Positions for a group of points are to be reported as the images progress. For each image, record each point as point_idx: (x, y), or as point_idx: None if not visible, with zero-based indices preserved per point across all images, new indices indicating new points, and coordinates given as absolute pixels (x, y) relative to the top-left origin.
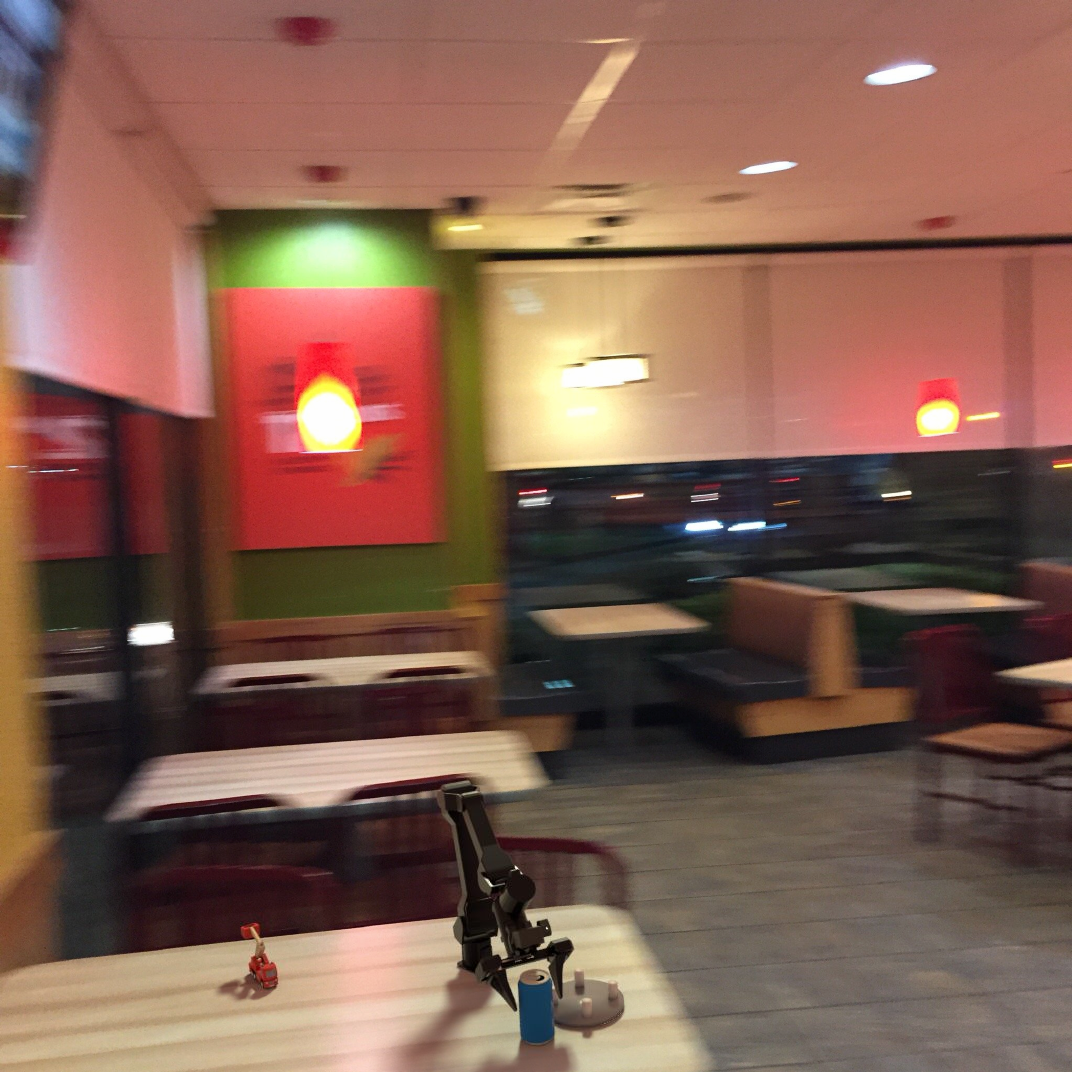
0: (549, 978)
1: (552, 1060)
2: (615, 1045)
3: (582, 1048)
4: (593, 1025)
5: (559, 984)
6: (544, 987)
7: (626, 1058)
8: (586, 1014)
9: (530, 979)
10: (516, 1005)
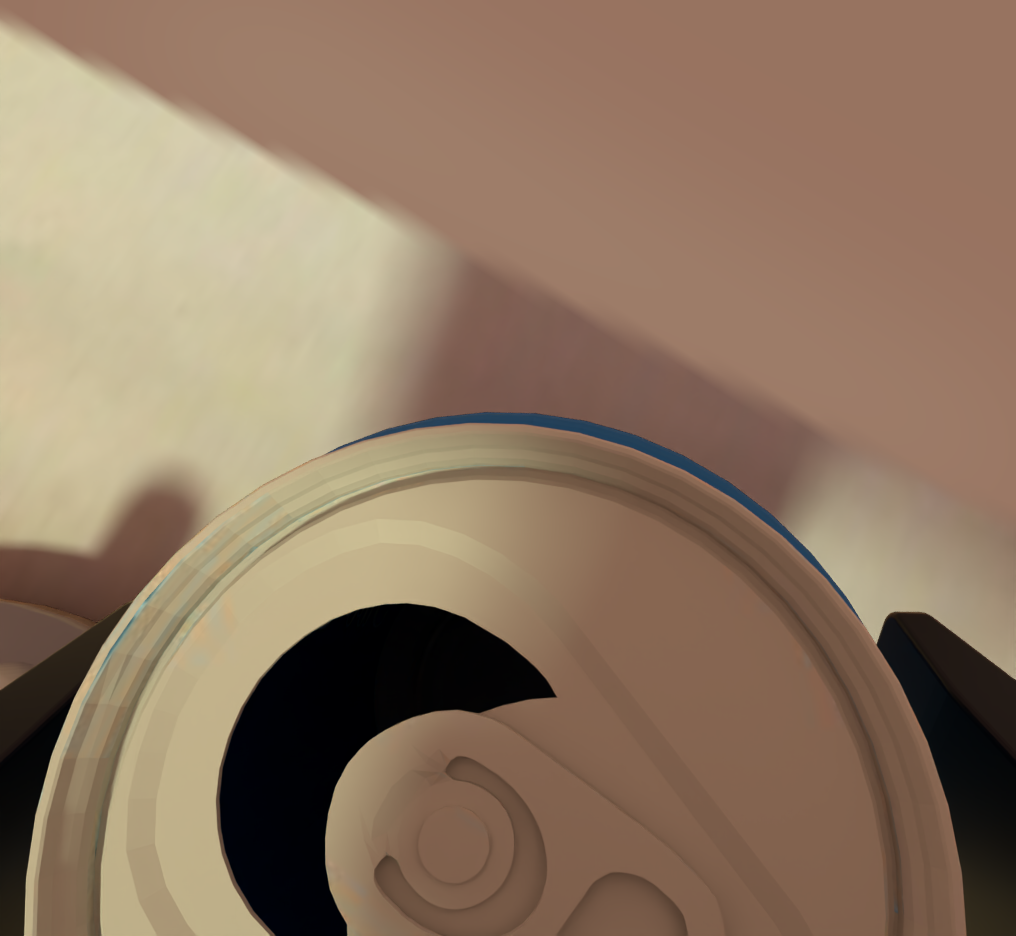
0: (145, 643)
1: (560, 341)
2: (65, 299)
3: (288, 376)
4: (44, 609)
5: (20, 716)
6: (422, 421)
7: (96, 133)
8: (15, 672)
9: (635, 825)
10: (918, 643)
